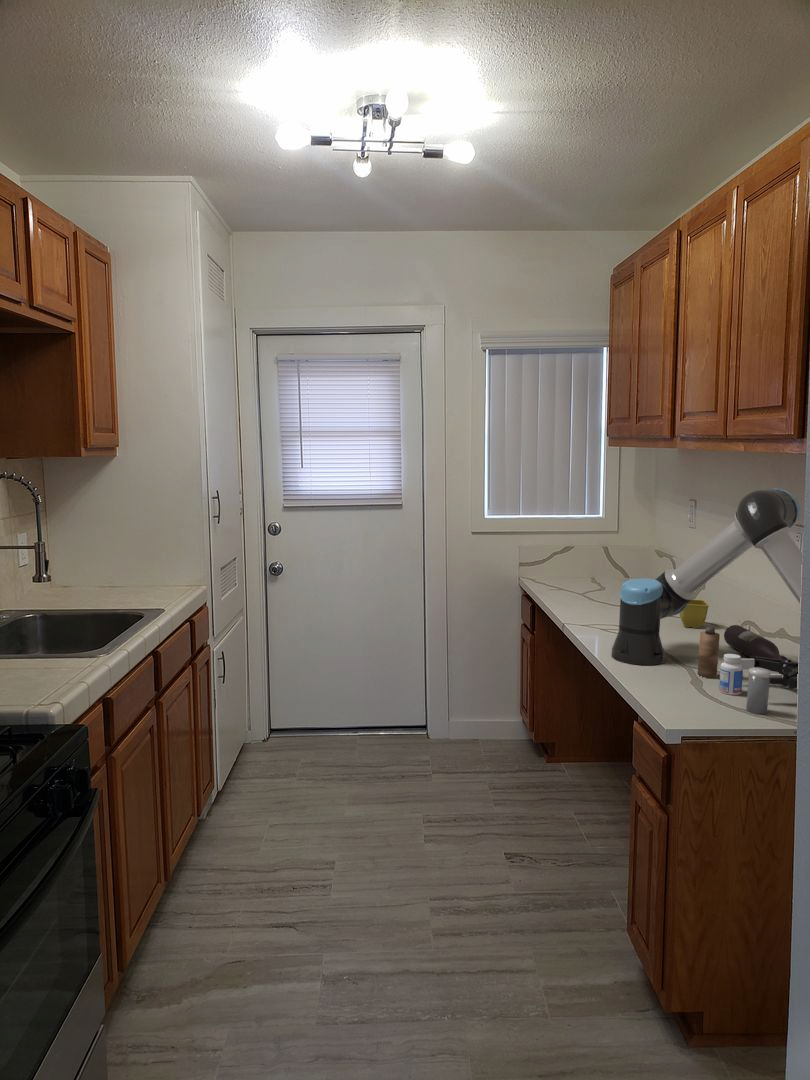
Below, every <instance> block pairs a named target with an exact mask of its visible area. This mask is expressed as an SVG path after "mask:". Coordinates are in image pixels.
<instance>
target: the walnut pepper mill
mask: <svg viewBox="0 0 810 1080" xmlns="http://www.w3.org/2000/svg"><path fill="white" fill-rule="evenodd" d="M715 631H716V628H715V627H712V626H707V627H705V630H704V631H700V634H699V648H698V650H699V651H698V664H697V674H698V675H699V676H698V675H697V676H698V677H700V676H702V677H701V678H703V677H706V678H705V679H716V678H717V677H718V667H719V666H718V665H719V663H718V662H719V652H720V651H719V650H720V649H719V648H720V633H718V632H715Z"/></svg>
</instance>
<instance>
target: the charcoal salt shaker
mask: <svg viewBox="0 0 810 1080" xmlns="http://www.w3.org/2000/svg"><path fill="white" fill-rule="evenodd" d="M748 670H749V671H748V683H747V696H746V707H745V708H746V711H747V712H749V713H751V714H755V715H766V714H767V713H768V705H769V695H770V694H769V692H770V685H769V684H770V674H771V672H772V671H770V670H768V669H764V668H758V667H753V668H750V669H748Z"/></svg>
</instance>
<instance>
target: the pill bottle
mask: <svg viewBox="0 0 810 1080" xmlns="http://www.w3.org/2000/svg"><path fill="white" fill-rule="evenodd" d="M741 659H742V657H741V655H739V654H736V653H725V654H723V661H724V662H722V663H721V664H720V671H719V690H718V691H719V692H721V693H722V694H725V695H731V696H738V695H741V694H742V690H743V676H744V669H743V666H742V665H741V664H739V663H740V661H741Z"/></svg>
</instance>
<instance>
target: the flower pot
mask: <svg viewBox="0 0 810 1080" xmlns="http://www.w3.org/2000/svg"><path fill="white" fill-rule="evenodd" d="M708 609H709V604H708V603H707V602H706V600H704V599H703V600H702V599H693V600H691V601H690V602H689V603H688V604H687V606H686V607H685V609H684V610H683V611H681V612H680V613H679V617H680V620H681V622H682V624H683V626H684V628H686V627H688V628H689V627H692V628H693V629H701V628H702V627H703V625H704V623H705V622H706V619H707V615H708Z"/></svg>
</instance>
